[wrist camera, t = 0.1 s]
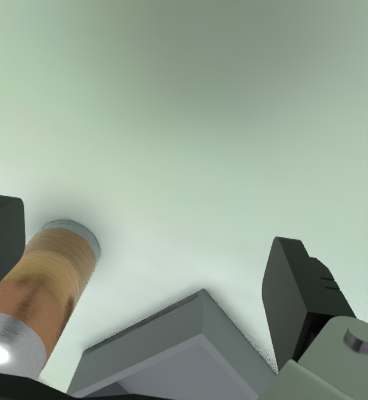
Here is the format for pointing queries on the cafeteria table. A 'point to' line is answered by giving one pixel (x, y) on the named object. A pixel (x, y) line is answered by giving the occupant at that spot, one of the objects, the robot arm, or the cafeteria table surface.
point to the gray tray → (176, 358)
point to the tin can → (43, 295)
